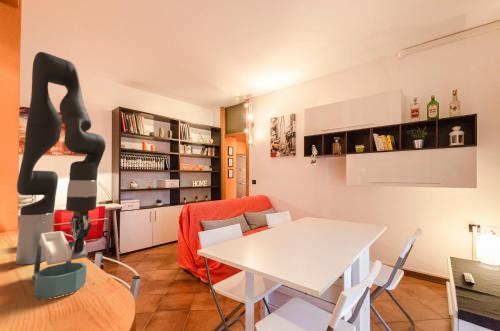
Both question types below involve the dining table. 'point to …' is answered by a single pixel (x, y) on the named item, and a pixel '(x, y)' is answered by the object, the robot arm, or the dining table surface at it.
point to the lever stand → (38, 259)
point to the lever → (58, 248)
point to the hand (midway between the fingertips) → (78, 251)
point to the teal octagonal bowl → (59, 280)
